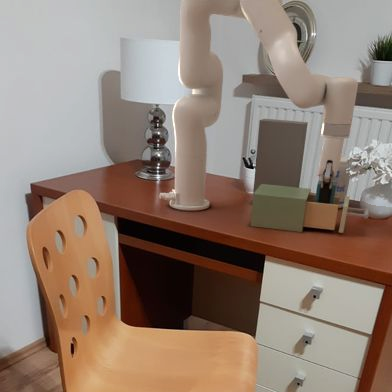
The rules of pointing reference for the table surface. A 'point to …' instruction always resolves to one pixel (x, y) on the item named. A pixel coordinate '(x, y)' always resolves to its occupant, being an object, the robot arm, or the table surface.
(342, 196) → the supplement tub
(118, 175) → the table surface
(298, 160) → the tall taupe upright panel
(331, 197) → the block
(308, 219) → the drawer
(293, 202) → the cabinet
